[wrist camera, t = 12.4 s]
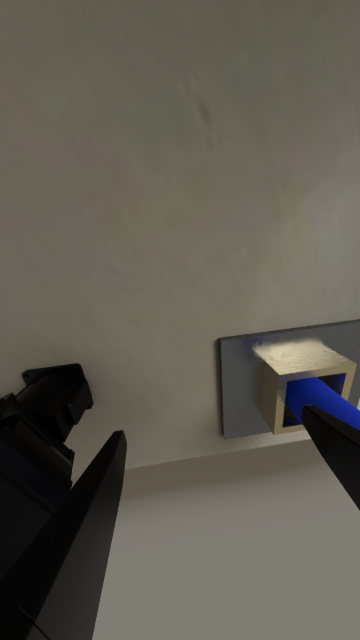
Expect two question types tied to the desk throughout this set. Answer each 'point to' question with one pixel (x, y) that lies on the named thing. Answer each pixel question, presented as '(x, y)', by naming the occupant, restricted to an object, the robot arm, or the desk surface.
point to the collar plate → (284, 373)
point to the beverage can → (319, 400)
